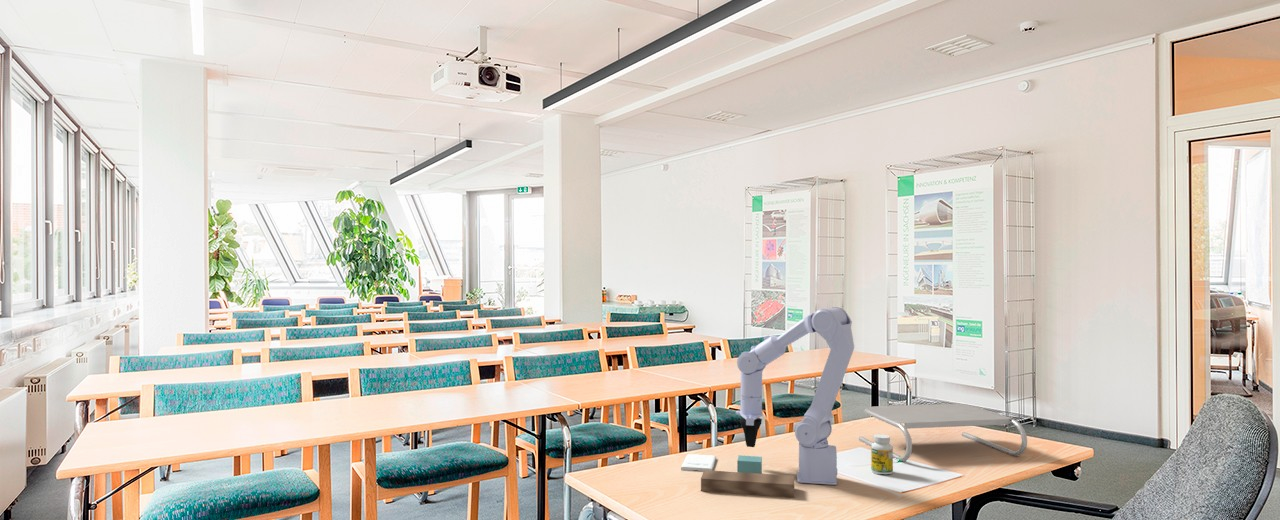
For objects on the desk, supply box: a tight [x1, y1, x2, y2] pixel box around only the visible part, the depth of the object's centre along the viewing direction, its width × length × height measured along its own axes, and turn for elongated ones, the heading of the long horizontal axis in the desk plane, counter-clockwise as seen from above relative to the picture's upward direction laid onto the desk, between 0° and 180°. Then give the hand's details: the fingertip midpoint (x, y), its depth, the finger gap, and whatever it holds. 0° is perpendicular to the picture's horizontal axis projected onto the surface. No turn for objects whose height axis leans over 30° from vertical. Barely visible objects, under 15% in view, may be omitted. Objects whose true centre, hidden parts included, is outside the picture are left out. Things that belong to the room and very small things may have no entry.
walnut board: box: [700, 470, 795, 498], centre depth 171 cm, size 22×7×3 cm, turn 79°
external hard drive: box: [680, 453, 717, 473], centre depth 192 cm, size 2×8×12 cm
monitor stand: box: [858, 403, 1028, 462], centre depth 209 cm, size 37×28×11 cm
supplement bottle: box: [870, 433, 894, 475], centre depth 186 cm, size 5×5×10 cm
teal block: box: [736, 455, 763, 474], centre depth 183 cm, size 6×5×4 cm
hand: (750, 446), depth 190 cm, fingers closed
